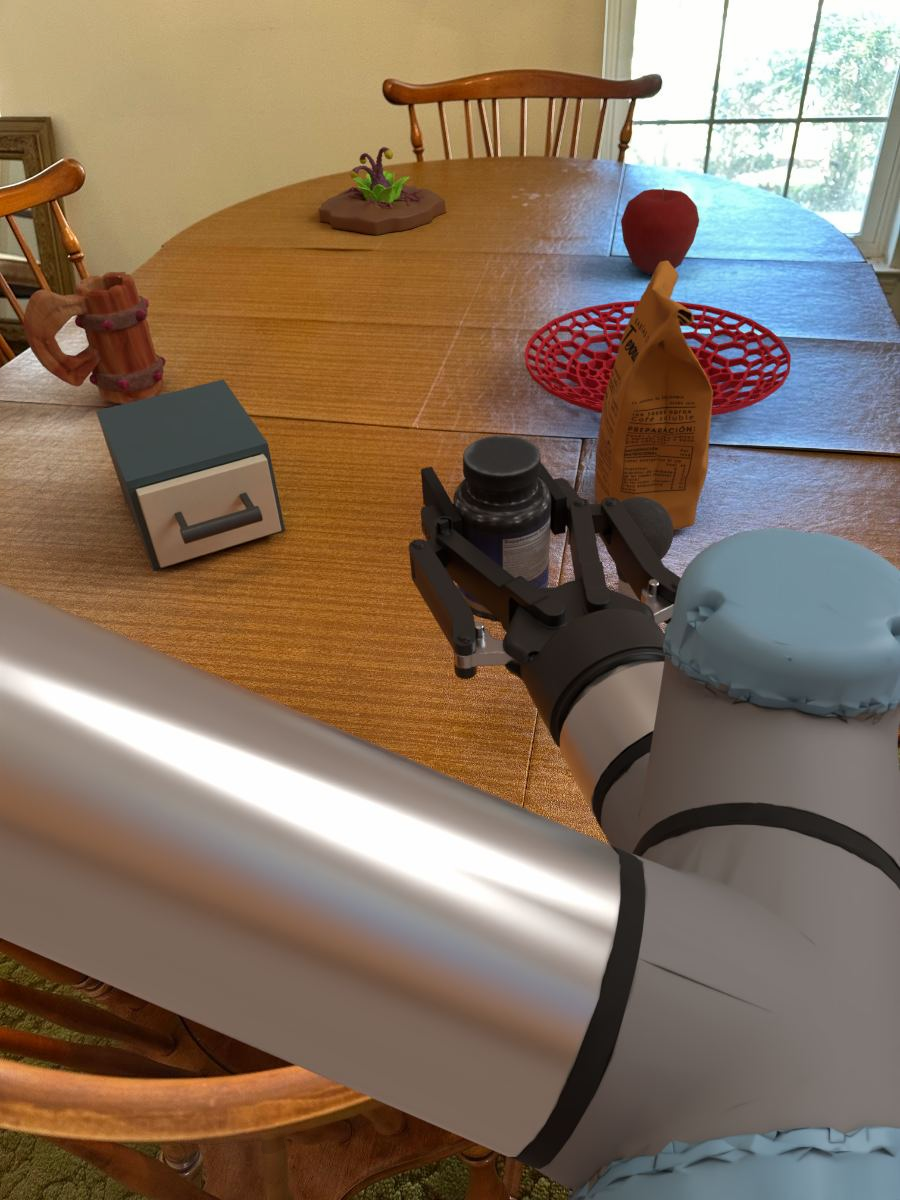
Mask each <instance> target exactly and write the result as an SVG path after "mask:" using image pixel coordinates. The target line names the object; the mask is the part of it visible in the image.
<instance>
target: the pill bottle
mask: <svg viewBox="0 0 900 1200" xmlns="http://www.w3.org/2000/svg"><path fill="white" fill-rule="evenodd" d="M541 458H542V457H541V452H540V449H539V448H538V447H537V445H536V444H534V443H533V442H532V441H530V440H528V439H526V438H522V437H520V436H516V435H491V436H485V437H482V438H480V439H477V440H475V441H473V442H471V443H470V444H469V445H468V446H467V447H466V448H465V450H464V451H463V454H462V474H463V477H464V478H463V479H462V480H461V482H460V483H459V484H458V486H457V487H456V489H455V491H454V494H453V497H452V503H453V505H454V507H455V508H456V510H457V512H458V514H459V515H460V517H461V519H462V530H463V537H464V538H465V539H466V540H468V541H469V542H470V543H471V544H473V545H474V546H475V547H477V548H478V549H479V550H480V551H482V552H483V553H484V554H485V555H487V556H488V557H489V558H490V559H492V560H493V561H494V562H496V563H497V564H498V565H499V566H501V567H502V568H503V569H504V570H506V571H507V572H508V573H509V574H511V575H512V576H513V577H515V578H516V577H518V576H522V577H524V578H525V579H526V580H527V581H529V582H530V583H531V584H533V585H534V586H535V587H536V588H538V589H539V588H549V577H550V575H549V574H550V571H549V570H550V548H551V547H550V544H551V543H550V542H551V529H550V521H551V495H550V492H549V490H548V487H547V486H546V484H545V483H544V482H543V481H542V480H541V479H540V478H539V477H538V476H539V474H540V472H541V463H542V459H541ZM456 586H457V588H458V589H459V591H460V593H461V594H462V596H463V597H464V599H465V600H466V602H467V603H468V605H469V607H470V608H471V610H472V613H473V616H474V617H477V618H481V619H485V620H489V621H492V622H497V623H501V622H500V620H499V619H498V618H497V617H495V616H494V615H493V614H492V613H491V612H489V611H488V610H487V609H486V608H485V607H484V606H482V605H481V604H480V603H479V602H478V601H477V600H475V599H474V598H473V597H472V596H471V595H470V594H468V593H467V592H466V591H465V590H464V589H462V588H461V587H460V586H459V585H458V584H457V583H456Z"/></svg>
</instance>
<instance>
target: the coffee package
mask: <svg viewBox="0 0 900 1200" xmlns="http://www.w3.org/2000/svg"><path fill="white" fill-rule="evenodd" d="M678 278H679V272H678V270H676V268H675V269H674V267H673V266H672V265H671V264H670V263H669V261H663V262H660V263H659V264H658V265H657V267H656V269H655V272H654V274H652V276H651V279H650V281H649V282H648V284H647V286H646V288H645V290H644V291H643V294H642V295H641V296H640V300H639V301H640V302H639V304H638V306H637V308H636V310H635V312H634V311H633V312H634V313H633V312H632V313H633V315H632V317H631V318H630V319H629V320H628V323H626V324H627V327H626V329H625V331H623V337H622V340H620V343H619V344H620V345H619V351H618V354H616V361H615V365H614V368H613V371H612V374H611V377H610V380H609V383H608V386H607V390H606V393H605V396H604V400H603V406H602V413H601V417H600V424H599V430H598V436H597V444H596V453H595V454H596V455H595V465H594V466H595V468H594V497H595V500H596V501H595V502H596V504H601V501H602V500H603V499H604V498H607V497H613V498H617V499H618V500H620V502H622V501H624V500H626V499H628V498H632V497H645V498H650V499H652V500H654V501H656V502H658V503H659V504H661V505H662V506H663V507H664V508H665V509H666V511H667V512H668V513H669V515H670V517H671V520H672V523H673V531H676V530H680V529H684V528H690V527H694V525H695V523H696V522H695V521H696V515H697V514H696V513H697V509H698V501H699V499H700V496H701V493H702V490H703V487H704V485H705V482H706V478H707V474H708V469H709V468H708V467H709V450H710V436H711V426H712V425H711V423H712V416H711V412H712V407H713V406H712V396H713V390H712V387H711V385H710V382H709V380H708V378H707V376H706V374H705V372H704V370H703V368H702V367H701V365H700V363H699V361H698V360H697V358H696V356H695V355H694V353H693V351H692V350H691V348H690V347H689V346H690V345H689V343H688V342H687V339H685V338H684V336H683V333H684V332H683V330H682V328H681V326H680V323H682V324H686V325H688V324H691V323H693V322H695V320H694V318H693V315H694V314H693V312H692V311H691V309H687V308H686V307H684V306H682V305H681V304H679V303H678V302H679V301H676V300H673V299H672V298H671V297H672V295H673V293H674V288H675V286H676V284H677V282H678Z"/></svg>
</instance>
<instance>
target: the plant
mask: <svg viewBox="0 0 900 1200" xmlns="http://www.w3.org/2000/svg"><path fill="white" fill-rule="evenodd" d="M383 155H384V157H385V158H386V159H387V160H392V159H393V157H394V152H393V151H392V149H390V148H389V147H386V146H382V147H381V148H380V149H379V150H378V153H377V156H376V160H375V159H374V158H373V157H372V156H371V155H370V154H368V153H367V152H364V153H362V154H360V156H359V163H360V164H362V165H358V166H356V167H354V168H352V169H351V170H350V172H349V175H350V178H351V179H352V180H353V181H355V183H357V185H358V186H352V187H349V188H348V189H345V190H344V191H341V192H340V193H338V194H337V195H335V196H332V197H330V198H328V199H327V200H325V201H324V202H323V203H321V206H320V207H319V208H318V215H319V222H320V223H327V224H329V225H331V228H332V229H335V230H341V231H348V232H355V233H360V234H365V235H371V236H379V235H385V234H390V233H395V232H397V233H398V232H404V231H409V230H412V229H415V228H417V227H420V226H424V225H427V224H429V223H431V221H432V220H433V219H434V218H435V217H438V216H440V215H442V214H445V213H446V212H447V211H446V200H445V198H443V197H441V196H440V195H438V194H437V193H435V192H434V191H432V190H431V189H430V188H429V189H428V188H418V187H417V186H416V185H415V186H414V185H413V186H412V185H406V184H405V183H406V182H408V180H409V178H410V175H405V176H403V177H401V178H399V179H398V180H397V181H395V171H391V172H390V173H389V172H388V171H387V170H384V168H383V162H382V161H383V159H382V158H383ZM367 161H368V162H369V165H370V166H371V169H370V167H368V166H367V165H364V164H366V163H367ZM360 170H364V171H366V174H365V179H366V180H365V179H364V178H362V177H358V176H359V171H360Z"/></svg>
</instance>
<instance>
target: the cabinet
mask: <svg viewBox="0 0 900 1200" xmlns="http://www.w3.org/2000/svg"><path fill="white" fill-rule="evenodd" d="M95 412H96V416H97V419H98V422H99V426H100V428H101V431H102V435H103V437H104V440H105V444H106V447H107V450H108V453H109V456H110V459H111V462H112V465H113V468H114V471H115V474H116V477H117V480H118V483H119V486H120V490H121V493H122V496H123V498H124V501H125V503H126V506H127V508H128V511H129V513H130V515H131V518H132V520H133V523H134V525H135V528H136V531H137V533H138V535H139V538H140V540H141V543H142V545H143V548H144V551H145V552H146V555H147V557H148V560H149V562H150V565H151V567H152V570H153V571H159V570H163V569H165V568H169V567H172V566H175V565H178V564H181V563H185V562H187V561H191V560H194V559H198V558H201V557H204V556H208V555H211V554H214V553H217V552H221V551H223V550H226V549H230V548H233V547H237V546H240V545H244V544H247V543H250V542H253V541H256V540H260V539H264V538H267V537H269V536H274V535H276V534H279V533H282V532H285V531H286V528H285V523H284V518H283V517H284V516H283V514H282V507H281V503H280V502H281V501H280V497H279V491H278V487H277V483H276V478H275V477H276V476H275V472H274V467H273V462H272V457H271V453H270V448H269V443H268V441H267V439H266V438H265V437H264V436H263V434H262V432H261V431H260V429H259V427H257V425H256V424H255V422H254V421H253V420H252V418H251V416H250V415H249V414H248V412H247V411H246V409H245V407H244V406H243V404H242V403H241V402H240V400H239V399H238V398H237V396H236V395H235V393H234V392H233V391H232V389H231V388H230V386H229V385H228V383H227V382H226V381H225V379H219V380H214V381H211V382H207V383H203V384H199V385H195V386H191V387H187V388H182V389H178V390H174V391H170V392H166V393H162V394H159V395H158V394H157V395H156V396H154V397H150V398H146V399H142V400H138V401H134V402H130V403H126V404H118V405H115V406H110V407H107V408H102V409H98V410H95ZM261 454H264V456H265V457H266V459H267V461H268V466H269V471H270V476H271V481H272V486H273V491H274V496H275V501H276V506H277V511H278V516H279V521H280V526H281V531H279V532H276V533H273V534H269V535H266V536H263V537H260V538H256V539H253V540H250V541H247V542H243V543H240V544H237V545H234V546H230V547H227V548H224V549H221V550H217V551H214V552H211V553H208V554H204V555H201V556H198V557H194V558H191V559H188V560H185V561H181V562H178V563H175V564H172V565H168V566H165V567H162V568H161V567H160V565H159V562H158V560H157V556H156V553H155V550H154V547H153V544H152V540H151V537H150V534H149V531H148V528H147V524H146V521H145V518H144V515H143V512H142V509H141V505H140V502H139V499H138V496H137V493H136V489H139V487H141V486H145V485H148V484H152V483H155V482H159V481H163V480H166V479H170V478H173V477H177V476H181V475H184V474H188V473H191V472H195V471H198V470H202V469H206V468H209V467H213V466H216V465H220V464H224V463H227V462H231V461H234V460H238V459H242V458H245V457H249V456H252V457H254V456H257V455H261Z"/></svg>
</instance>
